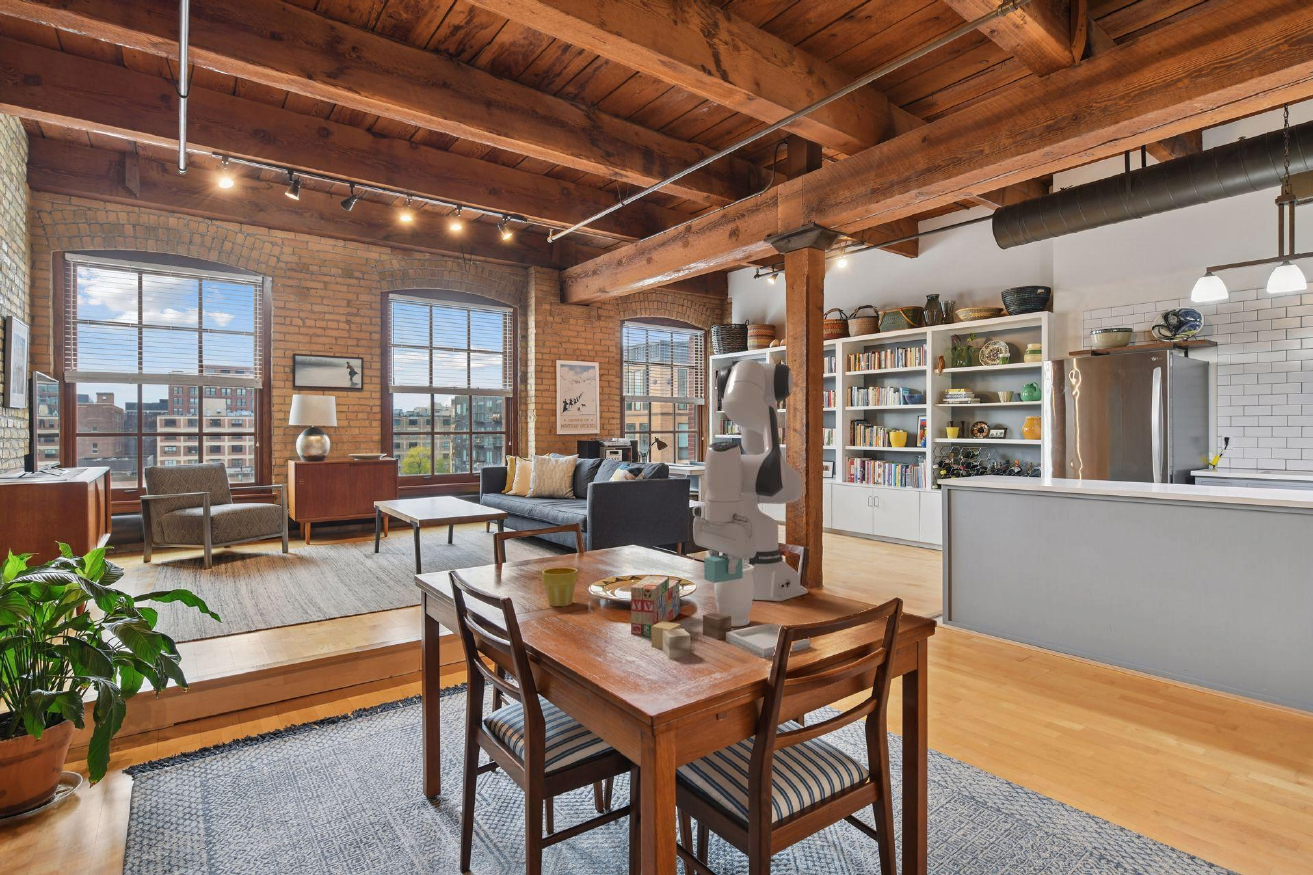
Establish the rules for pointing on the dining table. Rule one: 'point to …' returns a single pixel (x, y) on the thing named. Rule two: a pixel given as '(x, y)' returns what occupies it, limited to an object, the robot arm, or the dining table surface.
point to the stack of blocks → (653, 603)
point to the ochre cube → (661, 632)
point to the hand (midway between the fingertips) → (723, 570)
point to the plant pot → (560, 585)
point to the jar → (736, 596)
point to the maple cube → (676, 643)
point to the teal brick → (720, 569)
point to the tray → (761, 640)
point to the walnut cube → (716, 625)
